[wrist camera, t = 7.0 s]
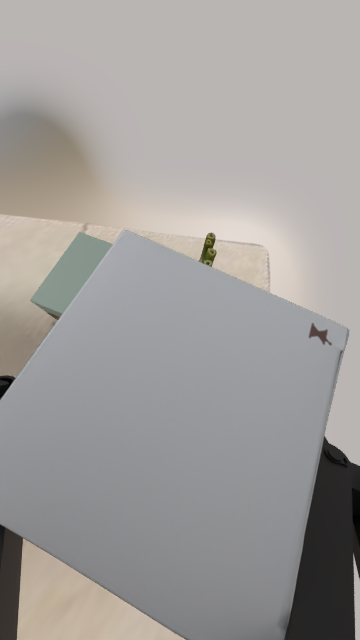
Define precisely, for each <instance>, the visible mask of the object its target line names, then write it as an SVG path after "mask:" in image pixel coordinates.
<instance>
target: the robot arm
mask: <svg viewBox="0 0 360 640" xmlns="http://www.w3.org/2000/svg"><path fill="white" fill-rule="evenodd" d="M15 379H16V378H15V377H13V376H0V400H1V398H2V397H3V396H4V394H5V393H6V391H7V390H8V389H9V387H10V386H11V384H12V383H13V381H14V380H15ZM22 543H23V538H22V537H21V536H19V535H17V534H16V533H14V532H12V531H11V530H9V529H7V528H6V527H4V526H2V525H1V524H0V640H17V625H18V609H19V593H20V576H21V560H22ZM353 553H354V557H355V561H356V565H357V570H358V574H359V578H360V466H358V465H356V464H353V463H351V462H350V461H349V460H348V458H347V457H346V455H345V454H344V453H343V452H342V451H341V450H339V449H338V448H336V447H335V446H333V445H331V444H329V443H328V441H327V440H326V438H325V436H324V440H323V444H322V449H321V454H320V459H319V464H318V469H317V475H316V480H315V485H314V490H313V495H312V500H311V505H310V510H309V515H308V519H307V524H306V529H305V534H304V541H303V548H302V554H301V559H300V564H299V569H298V575H297V580H296V586H295V592H294V597H293V603H292V608H291V613H290V618H289V623H288V626H287V629H286V634H285V639H284V640H355V612H354V567H353Z"/></svg>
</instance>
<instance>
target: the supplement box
mask: <svg viewBox="0 0 360 640" xmlns="http://www.w3.org/2000/svg"><path fill="white" fill-rule="evenodd" d="M348 336H349V329H348V328H346V327H344V326H342V325H340V324H338V323H336V322H334V321H332V320H330V319H327V318H325V317H323V316H320V315H318V314H316V313H314V312H312V311H309V310H307V309H305V308H303V307H301V306H298V305H296V304H294V303H292V302H289V301H287V300H285V299H283V298H280V297H278V296H276V295H273V294H271V293H269V292H267V291H264V290H262V289H260V288H258V287H255V286H253V285H251V284H248V283H246V282H244V281H242V280H239V279H237V278H235V277H233V276H230V275H228V274H226V273H224V272H221V271H219V270H217V269H214V268H212V267H210V266H208V265H205V264H203V263H201V262H199V261H196V260H194V259H192V258H190V257H187V256H185V255H183V254H181V253H178V252H176V251H174V250H172V249H170V248H167V247H165V246H163V245H161V244H158V243H156V242H154V241H152V240H149V239H147V238H144V237H142V236H140V235H137V234H135V233H132V232H130V231H128V230H123V231H122V232H121V234H120V235H119V237H118V238H117V240H116V241H115V242H114V244H113V245H112V246H111V248H110V249H109V251H108V252H107V253H106V255H105V256H104V258H103V259H102V260H101V262H100V263H99V265H98V266H97V267H96V269H95V270H94V272H93V273H92V274H91V276H90V277H89V278H88V280H87V281H86V282H85V284H84V285H83V287H82V288H81V289H80V291H79V292H78V293H77V295H76V296H75V298H74V299H73V300H72V302H71V303H70V304H69V306H68V307H67V309H66V310H65V311H64V313H63V314H62V315H61V317H60V318H59V320H58V321H57V322H56V324H55V325H54V326H53V328H52V329H51V330H50V332H49V333H48V335H47V336H46V337H45V339H44V340H43V341H42V343H41V344H40V346H39V347H38V348H37V350H36V351H35V352H34V354H33V355H32V357H31V358H30V360H29V361H28V362H27V364H26V365H25V367H24V368H23V369H22V371H21V372H20V373H19V375H18V376H17V377H16V379H15V380H14V381H13V383H12V384H11V386H10V387H9V389H8V390H7V391H6V393H5V394H4V396H3V397H2V398H1V400H0V524H1V525H2V526H4V527H6V528H7V529H9V530H11V531H12V532H14V533H16V534H17V535H19V536H21V537H22V538H24V539H26V540H27V541H29V542H31V543H32V544H34V545H36V546H37V547H39V548H41V549H42V550H44V551H46V552H47V553H49V554H51V555H52V556H54V557H55V558H57V559H59V560H60V561H62V562H63V563H65V564H67V565H68V566H70V567H71V568H73V569H75V570H76V571H78V572H79V573H81V574H83V575H84V576H86V577H87V578H89V579H91V580H92V581H94V582H95V583H97V584H99V585H100V586H102V587H103V588H105V589H107V590H108V591H110V592H111V593H113V594H114V595H116V596H118V597H119V598H121V599H122V600H124V601H125V602H127V603H128V604H130V605H132V606H133V607H135V608H136V609H138V610H139V611H141V612H143V613H144V614H146V615H147V616H149V617H150V618H152V619H154V620H155V621H157V622H158V623H160V624H161V625H163V626H165V627H166V628H168V629H169V630H171V631H173V632H174V633H176V634H178V635H179V636H181V637H182V638H184V639H186V640H284V639H285V634H286V629H287V626H288V623H289V618H290V613H291V608H292V603H293V597H294V592H295V586H296V580H297V575H298V569H299V564H300V559H301V554H302V548H303V541H304V534H305V529H306V524H307V519H308V515H309V510H310V505H311V500H312V495H313V490H314V485H315V480H316V475H317V469H318V464H319V459H320V454H321V449H322V444H323V440H324V435H325V430H326V425H327V420H328V416H329V412H330V408H331V404H332V400H333V395H334V391H335V387H336V383H337V378H338V374H339V370H340V365H341V362H342V358H343V354H344V351H345V347H346V344H347V340H348Z"/></svg>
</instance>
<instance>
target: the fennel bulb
mask: <svg viewBox="0 0 360 640" xmlns="http://www.w3.org/2000/svg"><path fill="white" fill-rule="evenodd" d="M214 243H215V235H214V234H213V233H209V234H208V235H207V237H206V240H205V244H204V248H203V251H202V255H201V258H200V260H199V262H201V263H203V264H205V265H208V266H210V267H212V264H213V261H214V258H215V256H216V254H217V253H216V250H214V249H213V246H214Z"/></svg>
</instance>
